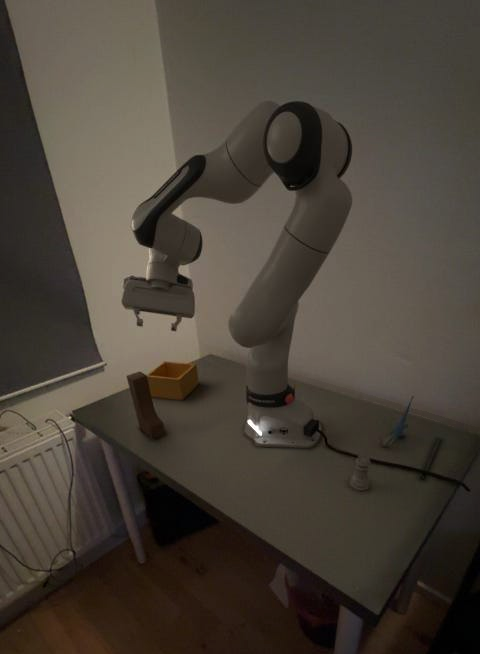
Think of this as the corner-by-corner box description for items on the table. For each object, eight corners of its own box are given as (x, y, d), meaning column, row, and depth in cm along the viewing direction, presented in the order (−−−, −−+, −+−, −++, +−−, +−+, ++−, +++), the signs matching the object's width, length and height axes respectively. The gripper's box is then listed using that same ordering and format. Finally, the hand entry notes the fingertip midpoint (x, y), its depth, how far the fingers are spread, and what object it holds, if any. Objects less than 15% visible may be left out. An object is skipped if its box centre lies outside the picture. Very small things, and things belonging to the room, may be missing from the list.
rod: (440, 441, 94) (441, 439, 94) (423, 481, 82) (424, 479, 81) (437, 440, 94) (438, 438, 94) (420, 480, 82) (420, 477, 82)
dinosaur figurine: (389, 446, 99) (378, 444, 91) (410, 396, 96) (401, 390, 89) (399, 450, 97) (389, 449, 90) (421, 399, 95) (412, 394, 87)
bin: (198, 383, 133) (196, 364, 129) (182, 400, 122) (178, 379, 118) (167, 380, 137) (164, 361, 133) (149, 396, 127) (144, 376, 122)
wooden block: (166, 434, 105) (154, 379, 95) (152, 440, 102) (139, 385, 93) (152, 422, 111) (140, 370, 101) (139, 428, 109) (125, 375, 99)
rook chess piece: (365, 478, 83) (370, 451, 79) (372, 491, 79) (377, 463, 75) (346, 479, 83) (350, 452, 79) (352, 492, 79) (356, 465, 75)
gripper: (121, 269, 94) (116, 319, 93) (197, 281, 97) (192, 329, 96) (126, 279, 100) (120, 326, 100) (197, 290, 103) (192, 336, 102)
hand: (156, 328), depth 98 cm, fingers open, 8 cm apart
